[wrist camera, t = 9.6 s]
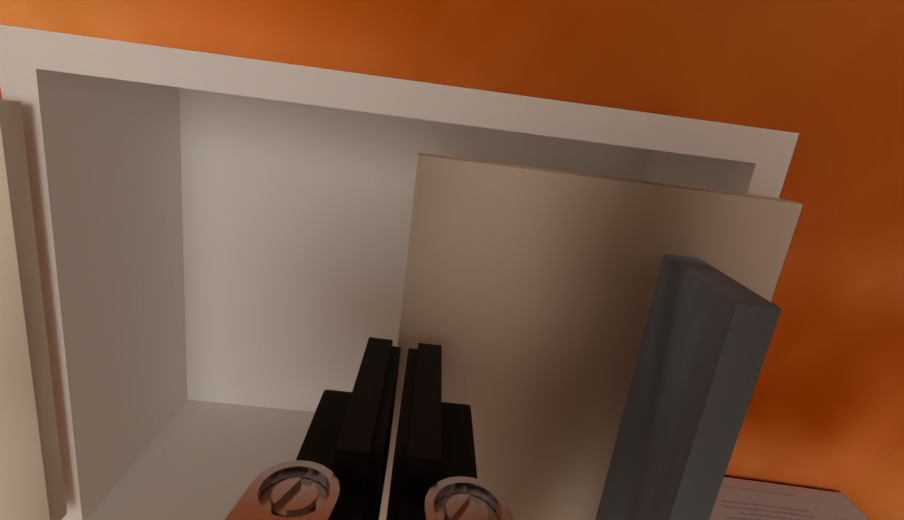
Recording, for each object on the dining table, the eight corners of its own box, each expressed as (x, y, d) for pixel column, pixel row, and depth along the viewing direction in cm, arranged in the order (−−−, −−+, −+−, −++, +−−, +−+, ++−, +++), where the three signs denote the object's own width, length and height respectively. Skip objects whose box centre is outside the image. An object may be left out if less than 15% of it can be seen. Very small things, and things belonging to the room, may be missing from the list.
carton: (672, 121, 19) (801, 133, 12) (592, 448, 23) (654, 592, 16) (161, 52, 18) (-10, 23, 11) (173, 407, 22) (55, 544, 15)
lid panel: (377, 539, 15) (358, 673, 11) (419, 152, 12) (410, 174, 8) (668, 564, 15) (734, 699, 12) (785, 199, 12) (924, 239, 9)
